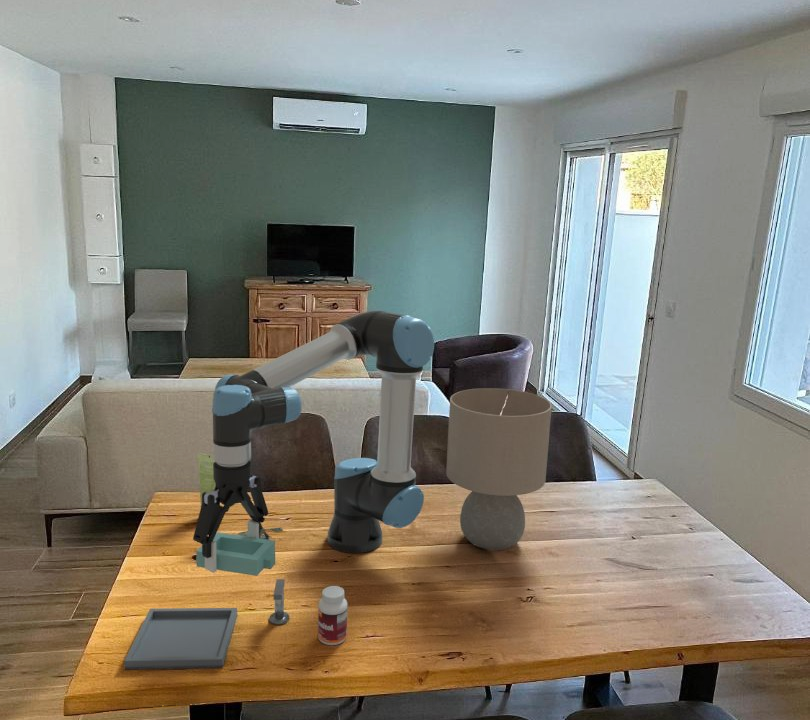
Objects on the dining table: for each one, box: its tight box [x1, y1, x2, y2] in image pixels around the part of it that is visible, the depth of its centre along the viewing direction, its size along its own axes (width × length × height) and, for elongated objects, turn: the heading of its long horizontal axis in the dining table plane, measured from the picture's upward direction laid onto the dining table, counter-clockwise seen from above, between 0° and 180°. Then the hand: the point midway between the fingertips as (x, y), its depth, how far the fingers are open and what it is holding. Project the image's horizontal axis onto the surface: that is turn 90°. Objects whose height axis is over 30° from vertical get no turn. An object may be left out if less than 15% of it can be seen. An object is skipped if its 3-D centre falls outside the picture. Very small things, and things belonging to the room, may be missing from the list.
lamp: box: [445, 387, 553, 551], centre depth 190 cm, size 27×27×41 cm
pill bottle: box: [317, 585, 348, 646], centre depth 148 cm, size 6×6×11 cm
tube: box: [197, 452, 216, 507], centre depth 201 cm, size 6×5×20 cm
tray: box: [123, 607, 238, 671], centre depth 146 cm, size 19×18×2 cm
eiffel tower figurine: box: [236, 524, 284, 540], centre depth 191 cm, size 15×10×13 cm
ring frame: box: [195, 531, 276, 577], centre depth 146 cm, size 15×9×4 cm, turn 77°
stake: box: [268, 578, 290, 626], centre depth 155 cm, size 4×6×8 cm
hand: (232, 559), depth 147 cm, fingers closed on ring frame, 11 cm apart
